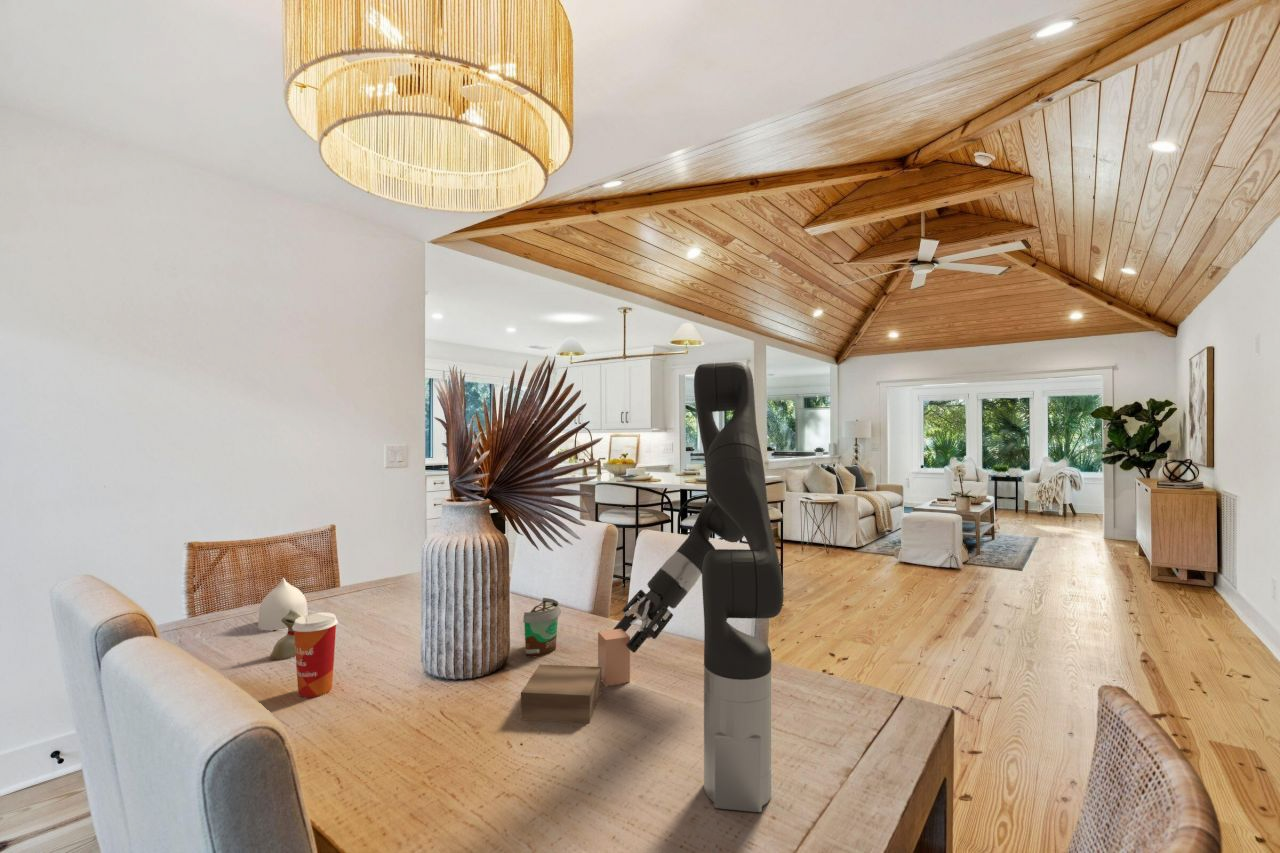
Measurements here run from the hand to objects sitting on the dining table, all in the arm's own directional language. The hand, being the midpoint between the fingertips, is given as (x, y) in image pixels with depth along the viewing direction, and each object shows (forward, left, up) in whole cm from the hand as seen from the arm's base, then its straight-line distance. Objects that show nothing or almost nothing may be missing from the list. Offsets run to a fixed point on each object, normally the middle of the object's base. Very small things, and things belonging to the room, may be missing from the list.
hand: (622, 641), depth 119 cm
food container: (+12, +20, -7) cm, 24 cm away
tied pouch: (+1, +75, -7) cm, 75 cm away
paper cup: (-15, +57, -7) cm, 59 cm away
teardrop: (+19, +92, -7) cm, 94 cm away
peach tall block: (-1, +2, -7) cm, 7 cm away
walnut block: (-13, +9, -8) cm, 17 cm away
